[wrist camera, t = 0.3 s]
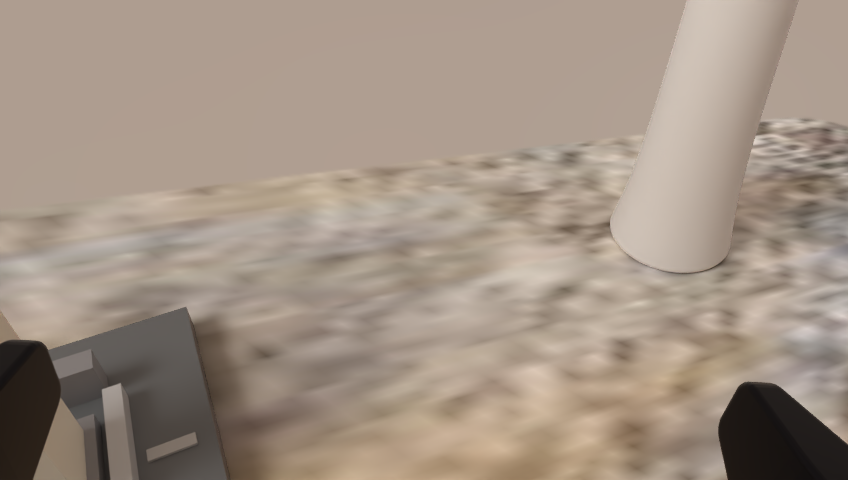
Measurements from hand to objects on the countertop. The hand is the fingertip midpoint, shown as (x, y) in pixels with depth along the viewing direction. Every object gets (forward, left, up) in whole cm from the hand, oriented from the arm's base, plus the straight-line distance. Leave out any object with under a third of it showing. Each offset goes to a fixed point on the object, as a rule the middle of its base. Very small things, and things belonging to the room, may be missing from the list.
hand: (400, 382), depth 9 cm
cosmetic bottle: (+21, -12, -16) cm, 29 cm away
